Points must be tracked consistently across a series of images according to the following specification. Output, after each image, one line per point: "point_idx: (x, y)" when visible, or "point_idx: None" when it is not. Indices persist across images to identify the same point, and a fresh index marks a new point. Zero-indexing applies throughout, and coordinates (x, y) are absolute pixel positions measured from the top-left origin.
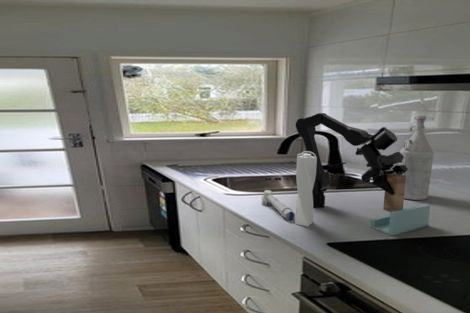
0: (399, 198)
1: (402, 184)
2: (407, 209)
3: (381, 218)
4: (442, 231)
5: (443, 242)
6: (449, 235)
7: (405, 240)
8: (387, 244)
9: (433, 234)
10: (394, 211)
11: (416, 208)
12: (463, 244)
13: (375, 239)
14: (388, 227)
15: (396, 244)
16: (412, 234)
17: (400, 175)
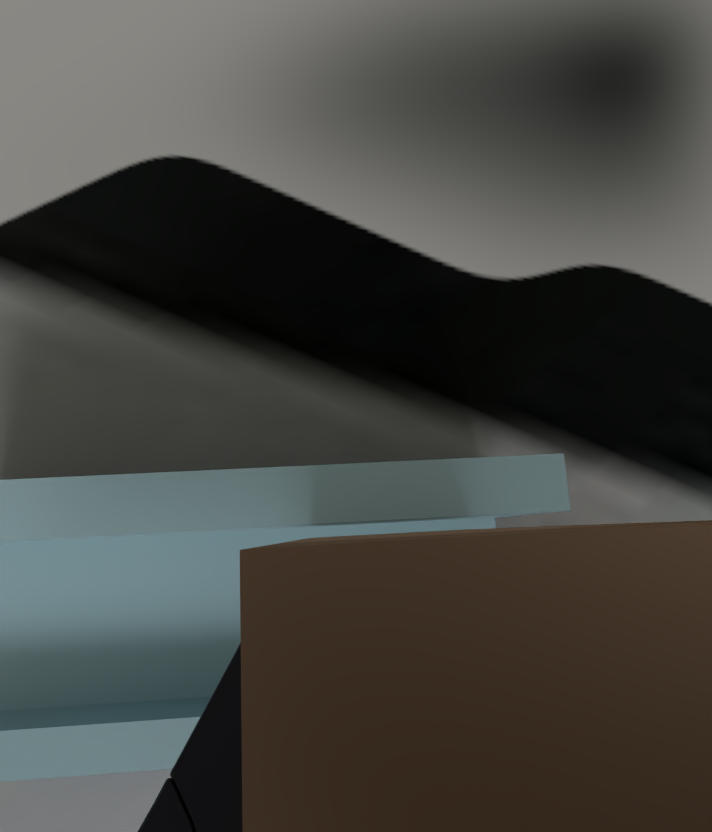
0: (425, 532)
1: (416, 535)
2: (284, 491)
3: None
4: (22, 369)
5: (239, 242)
6: (61, 297)
7: (463, 378)
8: (643, 386)
9: (155, 361)
10: (504, 504)
11: (134, 474)
12: (146, 167)
13: (664, 487)
14: None
15: (582, 359)
16: (310, 432)
17: (478, 739)
